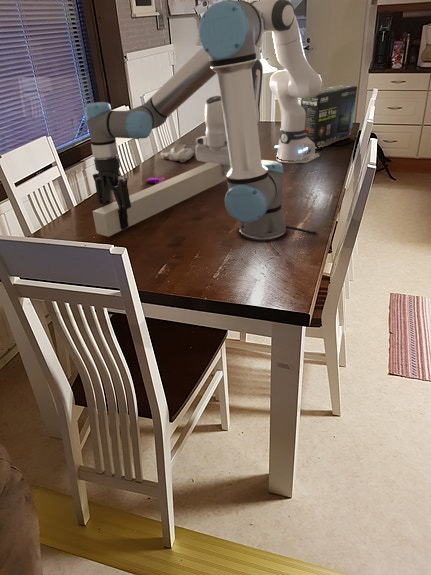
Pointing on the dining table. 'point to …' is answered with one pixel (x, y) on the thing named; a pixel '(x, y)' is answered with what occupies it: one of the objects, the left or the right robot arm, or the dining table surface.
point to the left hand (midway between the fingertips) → (118, 225)
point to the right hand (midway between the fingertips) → (218, 173)
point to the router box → (330, 113)
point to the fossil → (179, 152)
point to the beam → (159, 197)
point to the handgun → (155, 180)
